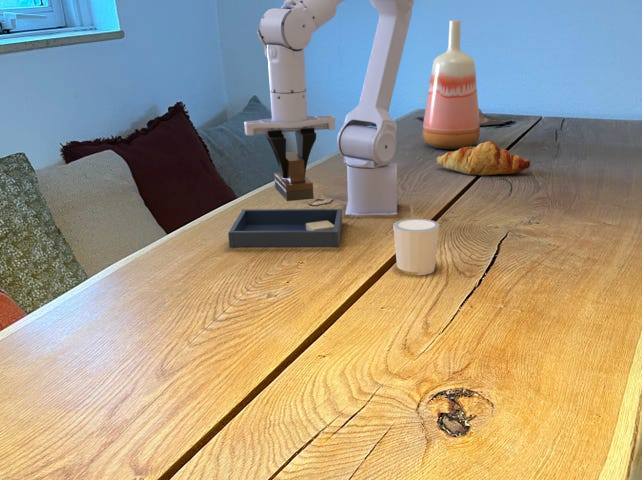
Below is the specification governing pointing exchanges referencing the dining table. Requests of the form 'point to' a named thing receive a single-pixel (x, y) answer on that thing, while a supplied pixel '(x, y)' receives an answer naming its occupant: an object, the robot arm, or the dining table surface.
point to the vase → (452, 98)
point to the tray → (284, 228)
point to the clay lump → (320, 226)
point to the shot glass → (416, 245)
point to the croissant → (483, 160)
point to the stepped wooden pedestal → (294, 180)
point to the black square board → (484, 119)
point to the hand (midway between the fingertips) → (293, 176)
